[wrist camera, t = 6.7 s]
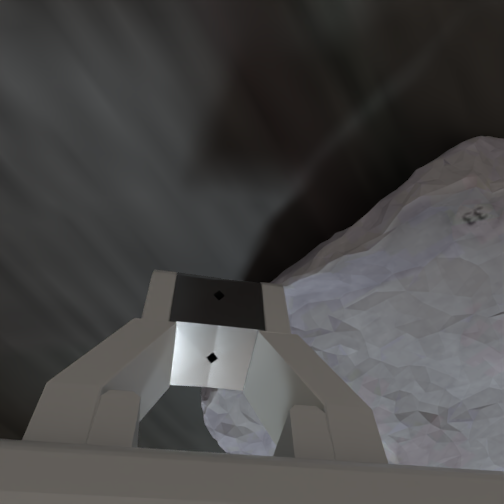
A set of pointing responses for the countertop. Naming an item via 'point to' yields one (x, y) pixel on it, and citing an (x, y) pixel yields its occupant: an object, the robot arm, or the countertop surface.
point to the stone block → (407, 317)
